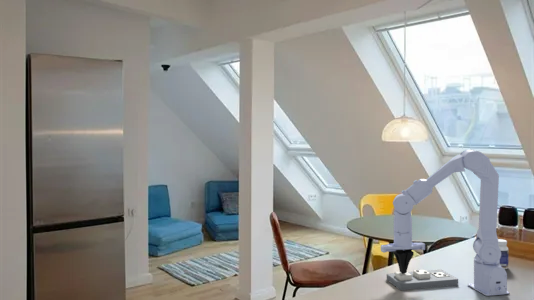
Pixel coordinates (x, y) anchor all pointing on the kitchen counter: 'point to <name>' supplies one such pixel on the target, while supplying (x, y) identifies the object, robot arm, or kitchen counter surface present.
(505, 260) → the pill bottle
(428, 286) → the button board
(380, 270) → the kitchen counter surface
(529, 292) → the kitchen counter surface
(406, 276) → the tile one
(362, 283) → the kitchen counter surface
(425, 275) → the tile two
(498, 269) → the robot arm
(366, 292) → the kitchen counter surface
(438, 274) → the tile three
